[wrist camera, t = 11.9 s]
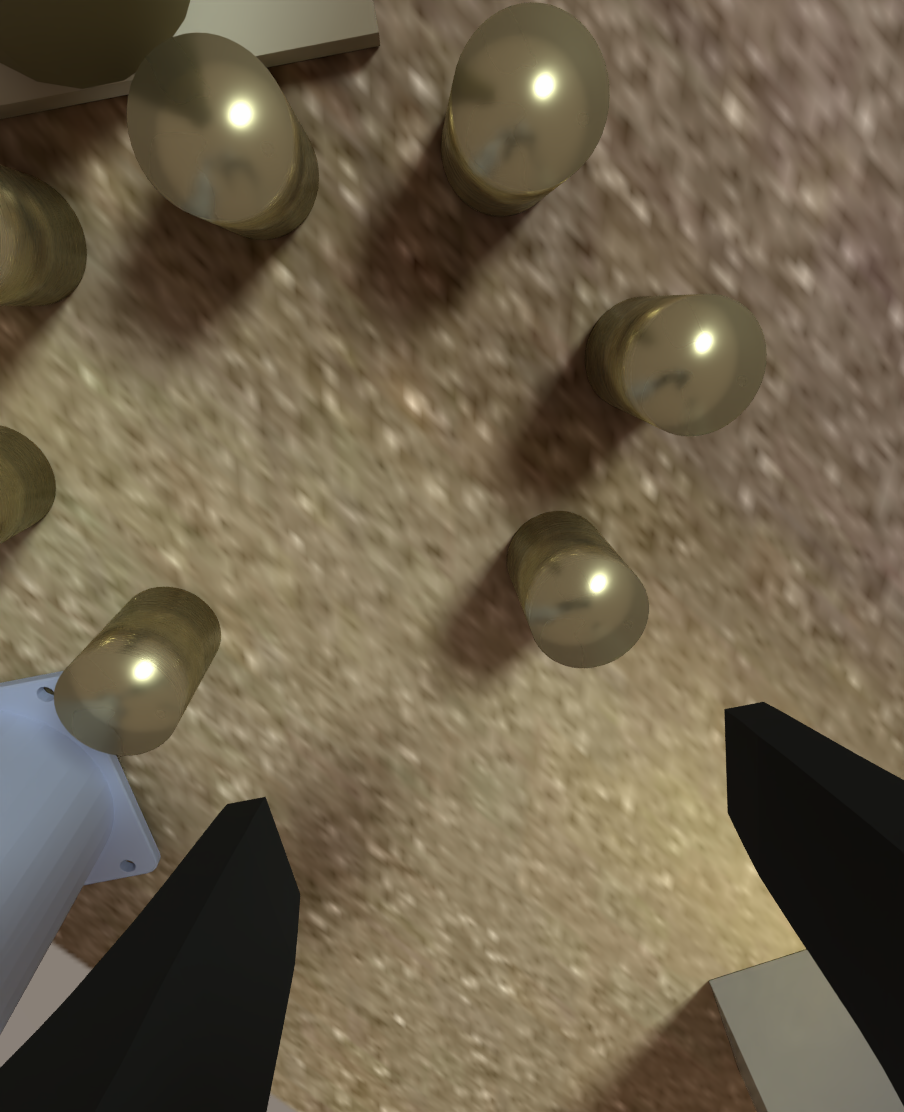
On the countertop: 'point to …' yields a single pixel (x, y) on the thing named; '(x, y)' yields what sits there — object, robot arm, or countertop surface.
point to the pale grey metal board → (237, 14)
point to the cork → (84, 37)
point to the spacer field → (279, 208)
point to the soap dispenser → (799, 1041)
